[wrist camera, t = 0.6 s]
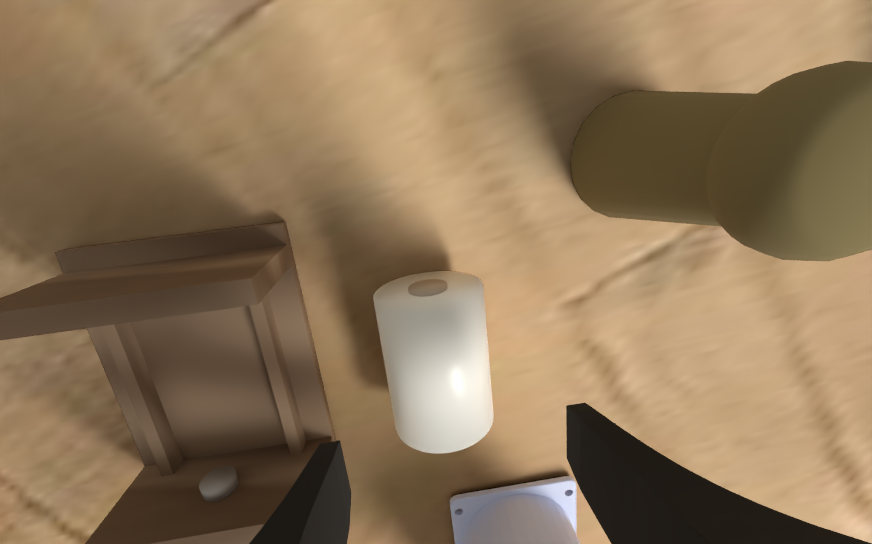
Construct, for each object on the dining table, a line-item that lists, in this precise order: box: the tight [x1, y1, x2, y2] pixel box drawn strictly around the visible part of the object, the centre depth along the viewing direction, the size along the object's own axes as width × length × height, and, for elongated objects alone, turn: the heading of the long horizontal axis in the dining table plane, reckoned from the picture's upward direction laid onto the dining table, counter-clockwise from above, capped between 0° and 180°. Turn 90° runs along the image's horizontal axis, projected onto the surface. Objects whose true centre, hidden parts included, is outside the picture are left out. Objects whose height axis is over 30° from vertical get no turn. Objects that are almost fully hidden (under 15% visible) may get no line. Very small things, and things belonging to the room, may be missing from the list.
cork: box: [570, 61, 872, 261], centre depth 15 cm, size 6×6×11 cm
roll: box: [373, 271, 493, 453], centre depth 19 cm, size 7×5×5 cm
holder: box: [0, 221, 336, 544], centre depth 18 cm, size 14×10×6 cm
